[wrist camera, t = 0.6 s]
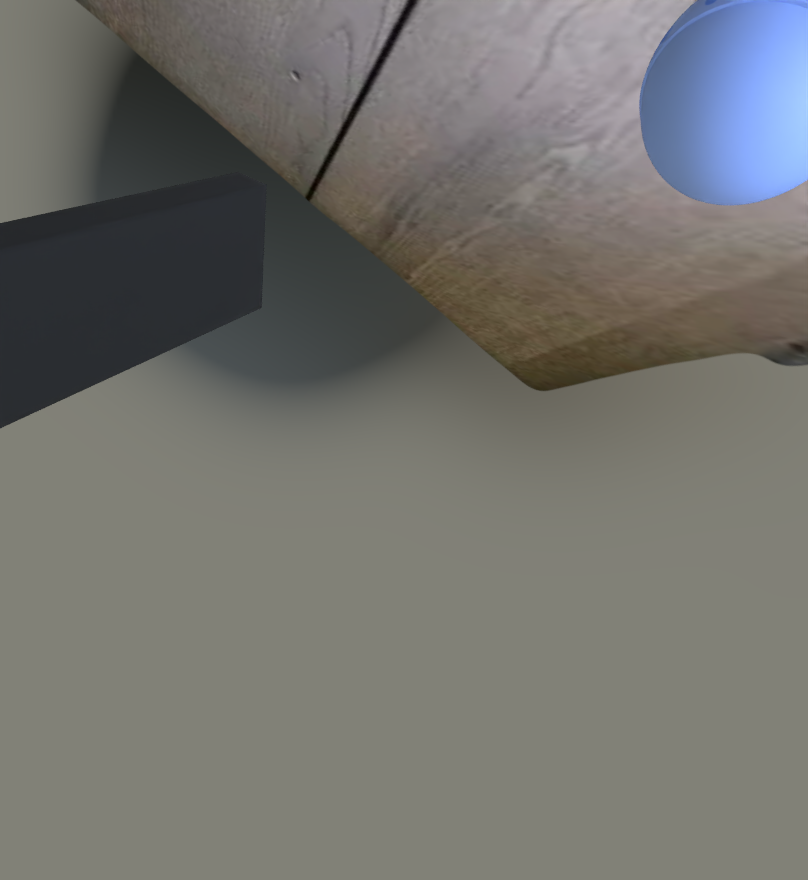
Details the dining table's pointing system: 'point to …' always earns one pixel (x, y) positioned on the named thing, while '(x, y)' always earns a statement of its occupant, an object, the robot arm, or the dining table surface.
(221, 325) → the robot arm
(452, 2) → the dining table surface
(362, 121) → the dining table surface
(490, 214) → the dining table surface
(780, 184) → the baby rattle
